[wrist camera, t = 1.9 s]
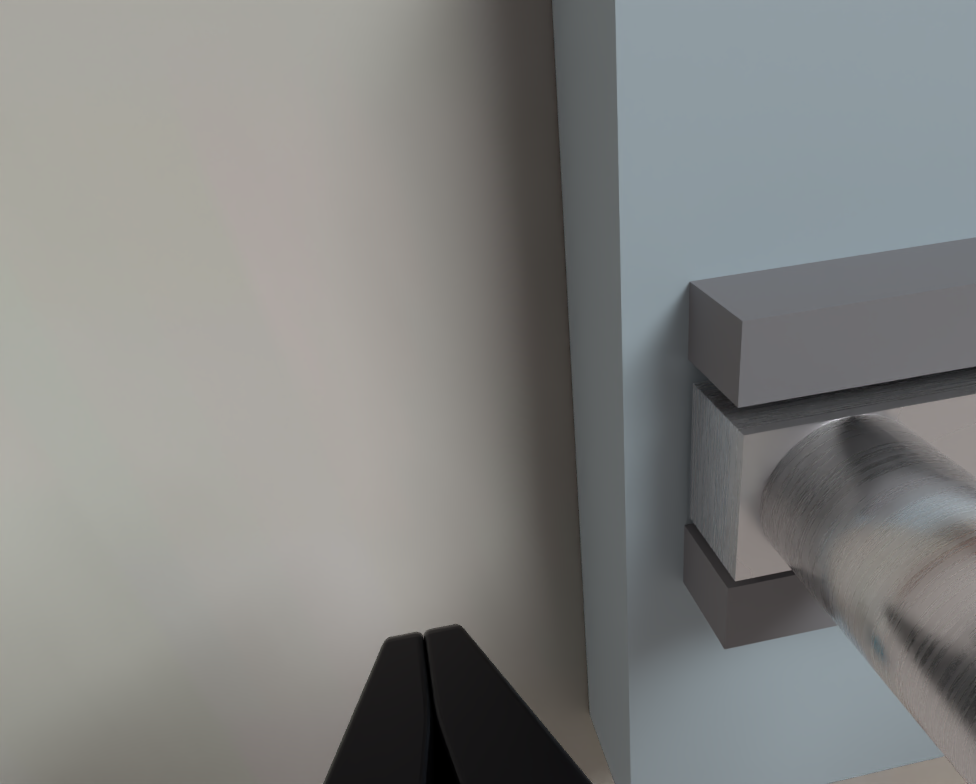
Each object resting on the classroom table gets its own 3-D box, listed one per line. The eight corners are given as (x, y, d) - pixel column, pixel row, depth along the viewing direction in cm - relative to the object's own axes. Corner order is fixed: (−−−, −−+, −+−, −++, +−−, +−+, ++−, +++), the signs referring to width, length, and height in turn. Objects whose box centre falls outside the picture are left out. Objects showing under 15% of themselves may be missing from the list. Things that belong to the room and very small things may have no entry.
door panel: (1184, -264, 12) (1633, -410, 8) (968, 631, 20) (1132, 790, 16) (540, -215, 11) (668, -357, 7) (589, 713, 19) (660, 909, 15)
